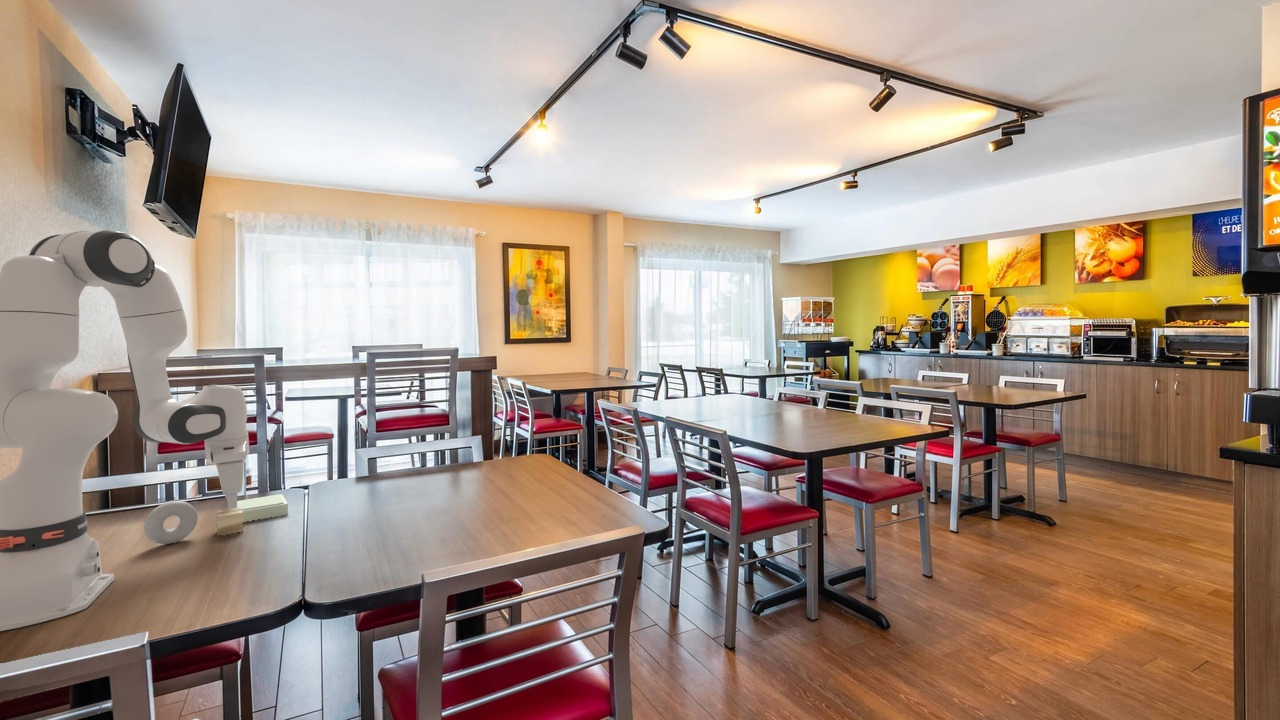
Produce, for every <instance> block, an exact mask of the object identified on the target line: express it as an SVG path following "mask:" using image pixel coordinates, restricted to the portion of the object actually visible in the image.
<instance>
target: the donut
mask: <svg viewBox="0 0 1280 720" xmlns="http://www.w3.org/2000/svg"><path fill="white" fill-rule="evenodd" d="M172 516H176V517H178V518H179V522H178V523H177V525H176V526H175V527H174V528H171V529H170V528H169V529H167V528H165V526H164V523H165V520H167V518H170V517H172ZM198 518H199V516H198V513H197V510H196V508H195V507H194V506H193V505H192V504H190V503H189V502H187V501H181V500H171V501H167V502H164V503H161V504H160V505H158V506H156V507H155V508H153V509H152V510H151V512H150V513H148V515H147V517H146V519H145V521H144V525H143V526H144V527H143V530H144V533H145V536H146V537H147V538H148V539H149V540H150V542H151V541H152V542H153V543H156V544H158V545H159V544H160V545H168V544H169V545H170V544H171V543H172V544H175V543H178V542H181V541H183V540H184V539H186V538H187V537H188V536H189V535H190V534H192V533H193V531H194V530H195V528H196V527H197V524H198V520H199V519H198ZM172 544H171V545H172Z"/></svg>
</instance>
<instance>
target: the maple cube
mask: <svg viewBox="0 0 1280 720" xmlns="http://www.w3.org/2000/svg"><path fill="white" fill-rule="evenodd" d="M215 513H216V528H217V529H216V530H217V531H216V532H217V537H220V536H219V535H224V536H226V535H225V534H229V535H232V534H231V533H234V534H237V533H236V532H240V533H242V532H241V531H243V532H244V523H243V514H242V509H241V508H236V509H225V510H219V511H216V512H215Z"/></svg>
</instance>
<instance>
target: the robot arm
mask: <svg viewBox="0 0 1280 720" xmlns="http://www.w3.org/2000/svg"><path fill="white" fill-rule="evenodd" d="M0 269H1V270H0V449H22V452H21V453H22V454H21V458H20V460H19V463H18V466H17V467H16V468H15V470H14V471H12V472H11V473H9V474H7V475H6V476H4V477H3V478H1V479H0V632H4V631H8V630H12V629H13V630H14V629H18V628H23V627H27V626H32V625H36V624H40V623H43V622H47V621H50V620H51V621H52V620H55V619H56V620H57V619H59V618H62V617H66V616H69V615H72V614H74V613H77V612H80V611H84V610H86V609H87V608H88V607H89V606H90V605H91V604H92V603H93V602H94V601H95V600H96V599H97V598H98V597H100V595H101V594H102V593H103V592H104V591H105V590H106V589H107V588H108V587H109V586H110V584H111V583H113V582H114V581H115V576H114V573H103V571H102V562H101V553H100V543H99V540H98V539H96V538H94V537H91V536H90V535H88V534H87V531H88V518H87V514H86V512H85V511H83V508H84V507H83V475H84V470H85V467H86V464H87V461H88V460H89V457H90V455H91V453H92V452H93V450H94V449H95V448H96V447H97V446H98V445H99V444H100V443H101V442H102V441H104V440H105V439H106V438H107V437H109V436H110V435H111V434H112V433H113V431H114V430H115V428H116V426H117V424H118V420H119V411H118V407H117V405H116V403H115V402H114V400H113V399H112V398H111V397H110V396H109V395H107V394H104V393H103V392H99V391H98V392H97V391H93V390H88V389H81V388H74V387H71V388H69V387H68V388H67V387H66V388H51V385H52V382H53V380H54V378H55V377H56V374H58V372H59V371H60V370H61V369H62V368H64V367H65V366H67V365H69V364H71V363H72V362H74V361H75V360H76V358H77V357H78V355H79V351H80V350H79V349H80V348H79V346H80V345H79V344H80V343H79V342H80V341H79V339H80V296H81V294H82V292H83V290H84V289H85V288H86V287H93V288H94V287H95V288H98V287H99V288H100V287H102V288H104V289H105V290H106V291H107V292H108V293H109V294H110V295H111V297H112V298H113V300H114V302H115V306H116V311H117V315H118V318H119V321H120V325H121V328H122V333H123V335H124V338H125V344H126V351H127V359H128V367H129V371H130V375H131V382H132V386H133V389H134V395H135V403H136V406H135V410H134V411H135V412H134V417H133V426H134V429H135V432H136V434H137V435H138V436H139V437H140V438H141V439H143V440H145V441H147V442H149V443H159V444H161V443H169V444H171V443H172V444H180V445H190V444H195V443H198V442H199V443H200V442H203V441H204V451H205V452H204V453H205V454H204V455H205V456H204V457H205V460H209V461H211V462H212V465H213V466H215V467H216V470H217V473H218V479H219V482H220V487H221V491H222V494H223V495H224V497H225V499H226V500H227V510H230V509H234V508H237V501H238V493H241V492H242V490H243V486H244V465H245V464H244V463H245V462H244V461H246V460H247V456H248V455H249V454H250V440H249V432H248V430H247V422H248V421H247V420H248V410H247V403H246V402H247V401H246V397H245V394H244V391H243V390H242V388H240V387H239V386H235V385H227V384H226V385H225V384H224V385H223V384H221V385H220V384H209V385H205V386H204V387H203V389H202V390H200V391H199V392H196V394H195V395H193V396H191V397H189V398H186V399H185V400H182V401H178V400H176V399H175V398H174V397H173V395H172V391H171V387H170V383H169V382H170V381H169V376H168V372H167V365H166V364H167V363H166V362H167V359H168V358H169V356H170V355H171V353H173V351H175V350H176V349H178V348H179V347H180V346H182V344H183V343H184V342H185V341H186V338H187V337H188V321H187V318H186V314H185V311H184V307H183V303H182V301H181V298H180V296H179V293H178V291H177V288H176V286H175V284H174V282H173V280H172V278H171V276H170V274H169V273H168V271H167V270H166V269H165V268H164V267H162V266H160V265H158V264H155V261H154V259H153V257H152V255H151V253H150V250H149V249H148V248H147V246H146V245H145V244H144V242H142V240H140V239H139V238H138V237H136V236H135V235H133V234H130V233H128V232H124V231H118V230H112V229H110V230H108V229H106V230H99V231H98V230H97V231H96V230H95V231H89V230H88V231H87V230H80V231H79V230H78V231H73V232H67V233H64V234H54V235H50V236H47V237H45V238H42V239H41V240H40V241H38V242H37V243H36V244H35V245H34V246H33V247H32V248H31V250H30V251H29V253H28V255H22V256H21V255H20V256H17V257H12V258H10V259H9V260H7V261H6V262H5V263H4V264H3V265H2V267H1V268H0Z"/></svg>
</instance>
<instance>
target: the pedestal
mask: <svg viewBox="0 0 1280 720" xmlns="http://www.w3.org/2000/svg"><path fill="white" fill-rule="evenodd" d="M288 505H289V504H288V502H287V500H286V498H285V497H284V494H282V493H281V494H274V495H273V494H272V495H266V496H261V497H254V498H249V499H242V500H237V508H241V509H242V514H243V522H244V523H247V522H246V521H249V522H253V521H252V520H255V521H259V520H258V519H260V520H265V518H266V519H271V518H270V517H272V518H276V516H277V517H281V516H282V515H283V516H287V515H289V507H288ZM234 509H236V508H234Z"/></svg>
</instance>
